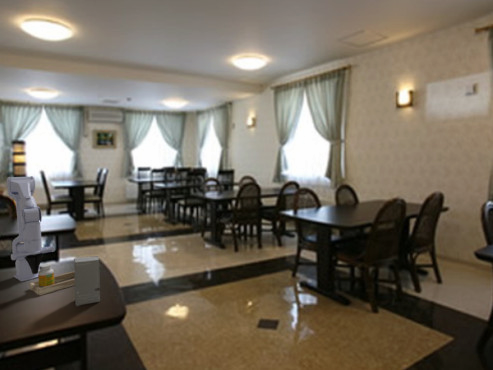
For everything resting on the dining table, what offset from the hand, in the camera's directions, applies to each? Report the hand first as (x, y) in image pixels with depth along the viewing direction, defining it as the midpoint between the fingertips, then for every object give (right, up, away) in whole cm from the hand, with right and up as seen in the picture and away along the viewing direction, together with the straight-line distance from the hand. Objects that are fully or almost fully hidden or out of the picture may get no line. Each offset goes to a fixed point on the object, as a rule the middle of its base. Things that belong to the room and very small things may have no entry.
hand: (35, 273), depth 132 cm
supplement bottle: (+2, -7, +4) cm, 9 cm away
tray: (+6, -7, +8) cm, 12 cm away
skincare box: (+24, -8, -7) cm, 27 cm away
